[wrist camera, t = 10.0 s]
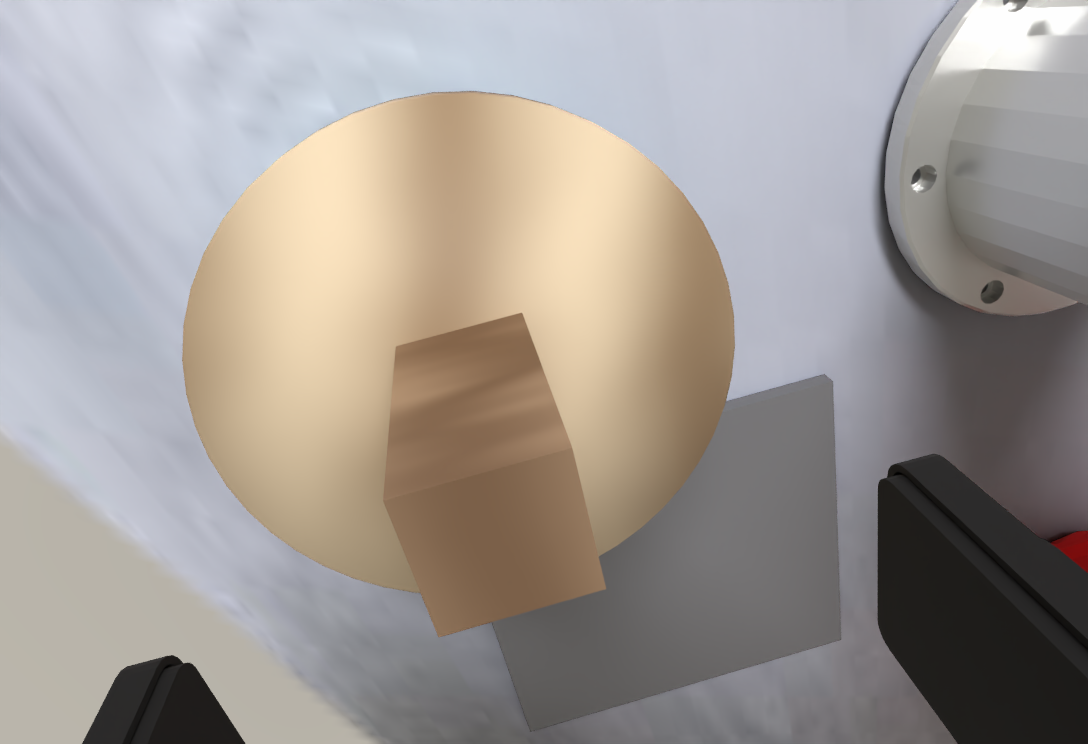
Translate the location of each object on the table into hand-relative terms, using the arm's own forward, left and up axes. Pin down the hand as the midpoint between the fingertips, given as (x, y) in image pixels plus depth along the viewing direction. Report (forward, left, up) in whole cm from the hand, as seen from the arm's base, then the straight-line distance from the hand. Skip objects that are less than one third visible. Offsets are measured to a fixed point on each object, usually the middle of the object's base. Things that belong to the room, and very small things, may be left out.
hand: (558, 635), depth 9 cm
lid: (+1, 0, -9) cm, 9 cm away
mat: (-4, +14, -15) cm, 21 cm away
